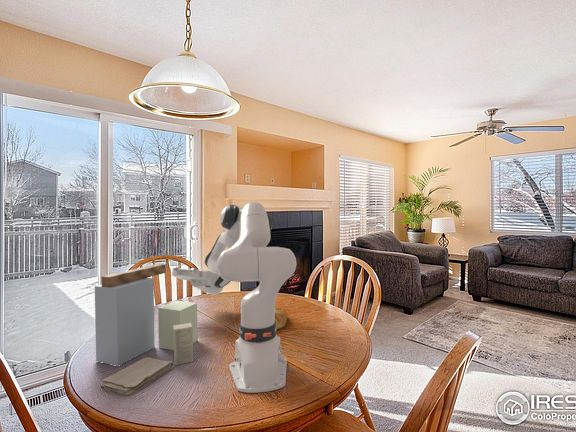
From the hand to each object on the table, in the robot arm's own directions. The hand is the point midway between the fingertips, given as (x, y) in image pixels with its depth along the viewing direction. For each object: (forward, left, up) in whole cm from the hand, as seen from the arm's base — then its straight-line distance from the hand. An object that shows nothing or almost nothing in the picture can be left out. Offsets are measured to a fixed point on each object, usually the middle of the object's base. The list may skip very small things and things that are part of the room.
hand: (183, 269), depth 136 cm
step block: (-18, -1, -26) cm, 31 cm away
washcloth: (-40, +7, -26) cm, 49 cm away
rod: (-19, +13, 0) cm, 23 cm away
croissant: (-5, -40, -26) cm, 48 cm away
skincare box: (-32, -5, -26) cm, 42 cm away
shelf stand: (-23, +16, -26) cm, 38 cm away
